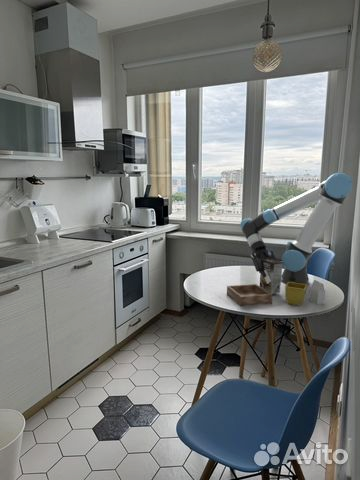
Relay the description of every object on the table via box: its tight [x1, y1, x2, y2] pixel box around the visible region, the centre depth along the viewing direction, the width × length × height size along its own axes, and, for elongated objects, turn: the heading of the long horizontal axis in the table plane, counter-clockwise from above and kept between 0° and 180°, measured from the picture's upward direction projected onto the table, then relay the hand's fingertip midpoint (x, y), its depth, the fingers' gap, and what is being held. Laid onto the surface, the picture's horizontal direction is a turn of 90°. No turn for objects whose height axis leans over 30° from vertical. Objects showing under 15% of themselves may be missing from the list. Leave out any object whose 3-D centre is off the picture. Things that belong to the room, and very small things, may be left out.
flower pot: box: [284, 282, 308, 307], centre depth 154 cm, size 9×9×9 cm
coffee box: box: [259, 258, 283, 295], centre depth 167 cm, size 9×6×16 cm
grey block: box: [308, 279, 326, 305], centre depth 157 cm, size 4×7×10 cm, turn 10°
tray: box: [226, 283, 273, 307], centre depth 159 cm, size 16×16×4 cm
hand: (275, 281), depth 165 cm, fingers closed on coffee box, 7 cm apart
